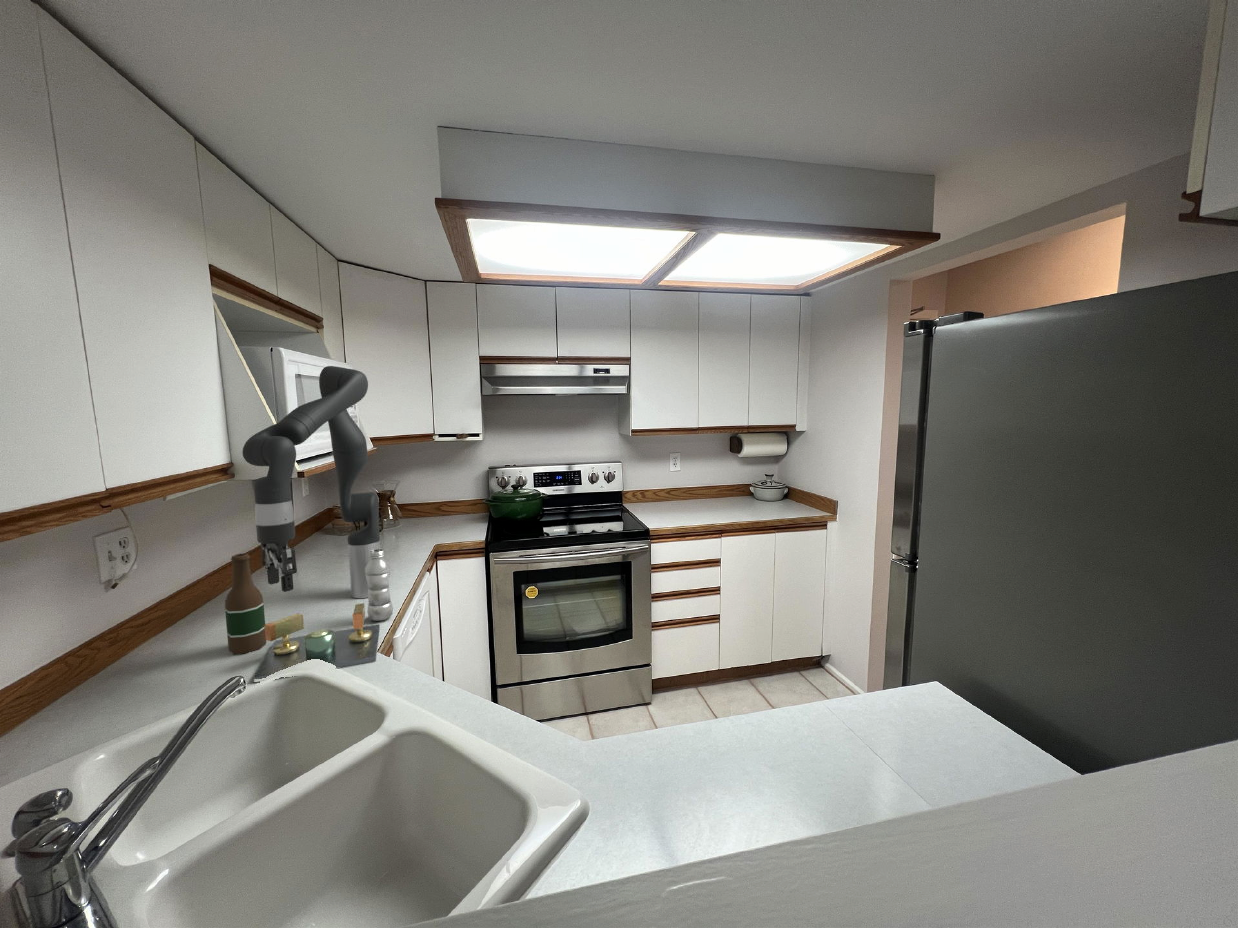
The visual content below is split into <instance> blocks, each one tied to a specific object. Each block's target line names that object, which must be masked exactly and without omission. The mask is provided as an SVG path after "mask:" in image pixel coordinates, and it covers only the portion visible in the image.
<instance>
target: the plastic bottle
mask: <svg viewBox="0 0 1238 928" xmlns="http://www.w3.org/2000/svg"><path fill="white" fill-rule="evenodd" d="M369 553H370V556H369V558H370V561H369V562H368V564H367V566H366V567H365V574H366V579H367V583H368V591H369V597H368V603H367V610H366V611H367V616H368V618H369V620H370V621H372V622H373V621H374V622H381V621H385V620H389V618H391V617H392V615H393V614H394V613H393V612H394V607H393V603H392V599H391V593H390V574H391V566H390V564H389V562H388V561H387V560H386V559H385V558H384V557H385V551H384V549H383V548H382V549H381V548H380V549H375V550H371V551H370V552H369Z"/></svg>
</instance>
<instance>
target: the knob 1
mask: <svg viewBox="0 0 1238 928" xmlns="http://www.w3.org/2000/svg"><path fill="white" fill-rule="evenodd" d="M304 627H305V624H304V615H303V613H302V614H301V613H295V614H292V615H288V616H286V617H283V618H281V619H278V620H275V621H272V622H268V623H265V637H266V641H269V642H274V641H276V640H279V638H282V639H281V640H283V643H281V644H278V645H276V646H275V647H274V654H276V655H284V654H289V653H292V652H294V651H296V650H298V649H299V642H297V641H290V640H289V638H290V635H291V634H293V633H296V632H299V631H301V630H304V629H305V628H304Z"/></svg>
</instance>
